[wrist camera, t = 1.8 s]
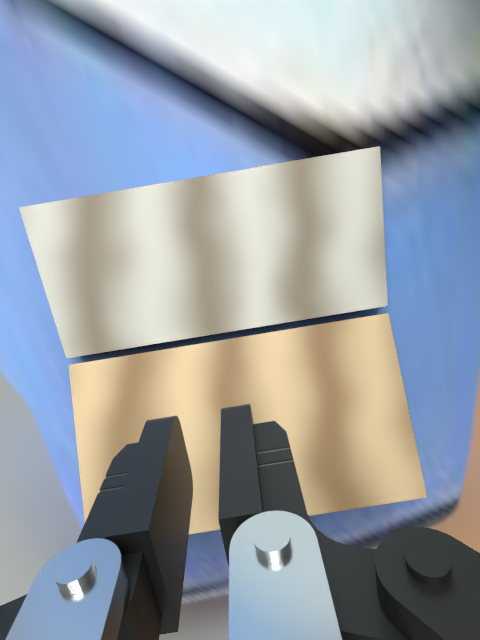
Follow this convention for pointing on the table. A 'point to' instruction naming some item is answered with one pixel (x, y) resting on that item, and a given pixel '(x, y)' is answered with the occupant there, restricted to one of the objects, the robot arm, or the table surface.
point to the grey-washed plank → (213, 252)
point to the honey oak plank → (263, 411)
